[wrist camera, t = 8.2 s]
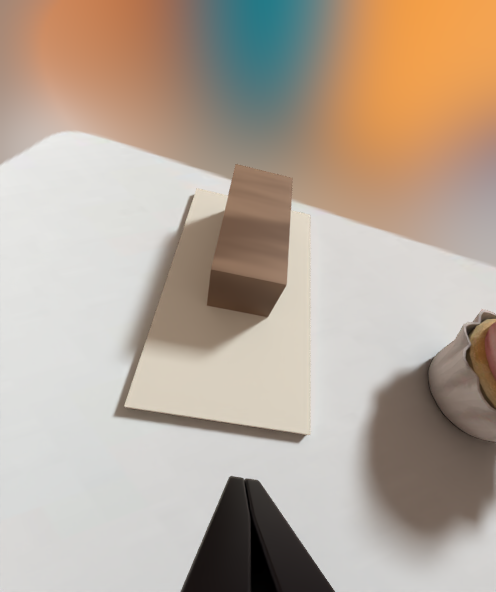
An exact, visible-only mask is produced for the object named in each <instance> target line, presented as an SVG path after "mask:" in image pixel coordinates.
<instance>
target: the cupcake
mask: <svg viewBox="0 0 496 592" xmlns="http://www.w3.org/2000/svg"><path fill="white" fill-rule="evenodd" d="M428 378H429V385H430V389H431V393H432V395H433V397H434V399H435V401H436V403H437V405H438V406H439V408H440V409H441V411H442V412H443V414H444V415H445V416H446V417H447V418H448V419H449V420H450V421H451V422H452V423H453V424H454V425H455V426H457V427H458V428H459V429H461V430H462V431H464V432H465V433H467V434H469V435H471V436H473V437H476V438H479V439H482V440H487V441H492V442H496V314H495V313H493V312H490V311H488V310H483V309H482V310H481V311H480V313H479V314H478V315H477V317H476V318H475V319H474V321H473V322H467V323H466V324H464V325H463V326H462V328H461V330H460V332H459V333H458V335H457V337H456V339H455V340H454V341H452V342H451V343H450V344H449V345H447V346H446V347H445V348H444V349H442V350H441V351H440V352H439V353H437V354H436V356H435V357H434V359H433V360H432V362H431V365H430V367H429V371H428Z"/></svg>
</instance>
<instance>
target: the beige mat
mask: <svg viewBox="0 0 496 592" xmlns="http://www.w3.org/2000/svg"><path fill="white" fill-rule="evenodd" d="M227 199H228V195H223V194H219V193H215V192H211V191H206V190H202V189H198V188H197V189H196V192H195V195H194V198H193V201H192V204H191V207H190V210H189V213H188V216H187V219H186V222H185V225H184V228H183V231H182V234H181V237H180V240H179V243H178V246H177V249H176V252H175V255H174V258H173V261H172V264H171V267H170V270H169V273H168V276H167V279H166V282H165V285H164V288H163V291H162V294H161V297H160V300H159V303H158V306H157V309H156V312H155V315H154V318H153V321H152V324H151V327H150V330H149V333H148V336H147V339H146V342H145V345H144V348H143V351H142V354H141V357H140V360H139V363H138V366H137V369H136V372H135V375H134V378H133V381H132V384H131V387H130V390H129V393H128V396H127V399H126V402H125V405H124V407H126V408H131V409H138V410H144V411H151V412H157V413H164V414H171V415H177V416H184V417H190V418H197V419H204V420H210V421H217V422H223V423H230V424H237V425H243V426H250V427H257V428H263V429H270V430H276V431H283V432H290V433H296V434H303V435H310V215H309V214H304V213H300V212H296V211H292V210H291V217H290V235H289V254H288V272H287V285H286V287H285V289H284V291H283V292H282V294H281V296H280V297H279V299H278V301H277V303H276V304H275V306H274V308H273V310H272V311H271V313H270V315H269V316H268V317H264V316H259V315H254V314H248V313H243V312H238V311H233V310H228V309H222V308H217V307H212V306H207V299H208V290H209V282H210V273H211V267H212V262H213V258H214V254H215V250H216V246H217V241H218V237H219V233H220V229H221V224H222V220H223V216H224V212H225V207H226V203H227Z"/></svg>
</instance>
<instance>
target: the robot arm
mask: <svg viewBox="0 0 496 592" xmlns="http://www.w3.org/2000/svg"><path fill="white" fill-rule="evenodd" d="M181 592H335V591H334V590H333V588H332V587H331V585H330V584H329V582H328V581H327V579H326V578H325V576H324V575H323V574H322V572H321V571H320V569H319V568H318V566H317V565H316V563H315V562H314V560H313V559H312V557H311V556H310V555H309V553H308V552H307V550H306V549H305V547H304V546H303V544H302V543H301V541H300V540H299V539H298V537H297V536H296V534H295V533H294V531H293V530H292V528H291V527H290V525H289V524H288V522H287V521H286V520H285V518H284V517H283V515H282V514H281V512H280V511H279V509H278V508H277V506H276V505H275V503H274V502H273V501H272V499H271V498H270V496H269V495H268V493H267V492H266V490H265V489H264V487H263V486H262V484H261V483H260V482H259V481H258V480H254V479H245V480H244V479H243V478H240V477H234V476H231V477H229V479H228V481H227V483H226V486H225V488H224V491H223V493H222V495H221V498H220V500H219V502H218V505H217V507H216V509H215V512H214V514H213V516H212V519H211V521H210V524H209V526H208V528H207V531H206V533H205V535H204V538H203V540H202V542H201V545H200V547H199V549H198V552H197V554H196V557H195V559H194V561H193V564H192V566H191V568H190V571H189V573H188V575H187V578H186V580H185V582H184V585H183V587H182V590H181Z"/></svg>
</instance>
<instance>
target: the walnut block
mask: <svg viewBox="0 0 496 592" xmlns="http://www.w3.org/2000/svg"><path fill="white" fill-rule="evenodd" d="M292 179H293V178H290V177H286V176H282V175H278V174H274V173H270V172H266V171H262V170H258V169H253V168H250V167H246V166H242V165H238V164H236V165H235V170H234V173H233V178H232V182H231V186H230V190H229V195H228V199H227V203H226V207H225V212H224V216H223V220H222V224H221V229H220V233H219V237H218V241H217V246H216V250H215V254H214V258H213V262H212V267H211V273H210V282H209V290H208V299H207V306H212V307H217V308H222V309H228V310H233V311H238V312H243V313H248V314H254V315H259V316H264V317H268V316H269V315H270V313H271V311H272V310H273V308H274V306H275V304H276V303H277V301H278V299H279V297H280V296H281V294H282V292H283V291H284V289H285V287H286V285H287V272H288V254H289V235H290V217H291V198H292Z"/></svg>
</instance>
